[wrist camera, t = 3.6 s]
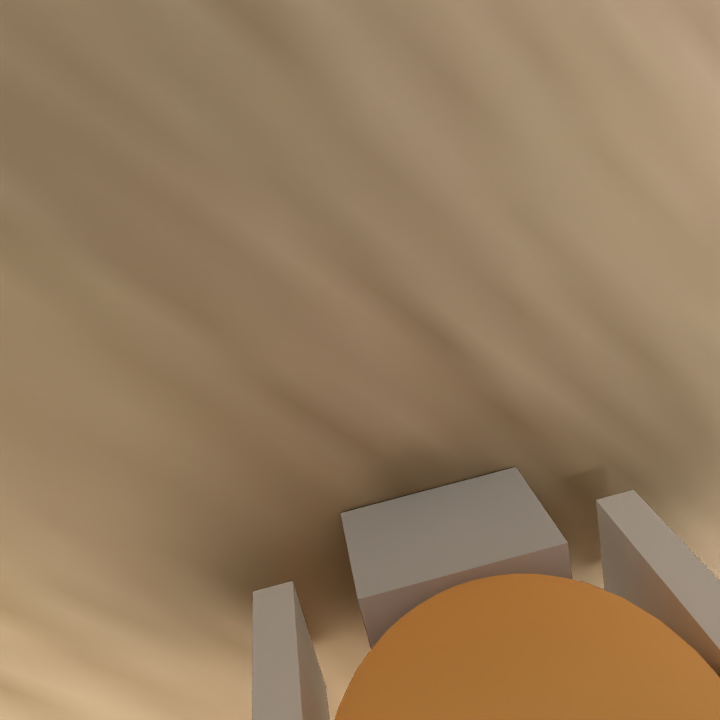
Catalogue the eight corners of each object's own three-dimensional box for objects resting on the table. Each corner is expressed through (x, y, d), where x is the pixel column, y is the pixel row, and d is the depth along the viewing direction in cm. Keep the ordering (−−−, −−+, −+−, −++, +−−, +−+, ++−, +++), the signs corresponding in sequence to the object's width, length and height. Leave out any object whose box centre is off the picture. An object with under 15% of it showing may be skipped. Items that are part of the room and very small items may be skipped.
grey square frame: (340, 513, 14) (357, 599, 11) (515, 466, 14) (567, 542, 11) (377, 648, 15) (398, 750, 13) (536, 605, 15) (586, 697, 13)
